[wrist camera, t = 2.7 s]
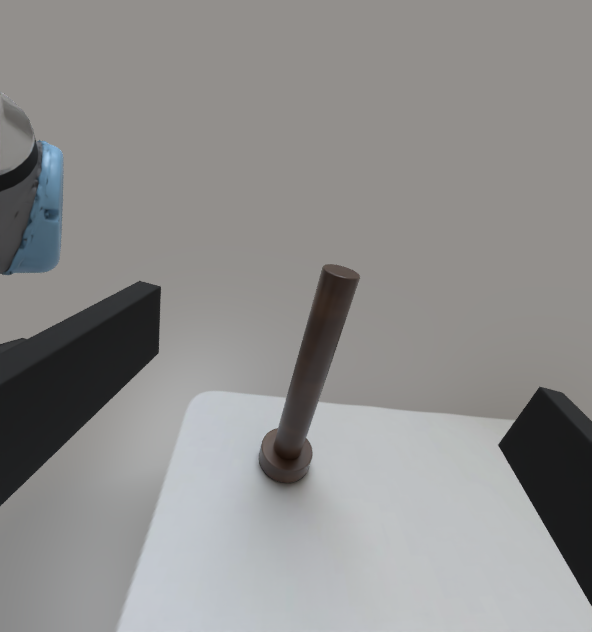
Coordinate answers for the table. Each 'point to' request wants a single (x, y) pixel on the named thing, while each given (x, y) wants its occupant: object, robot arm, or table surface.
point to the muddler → (309, 376)
